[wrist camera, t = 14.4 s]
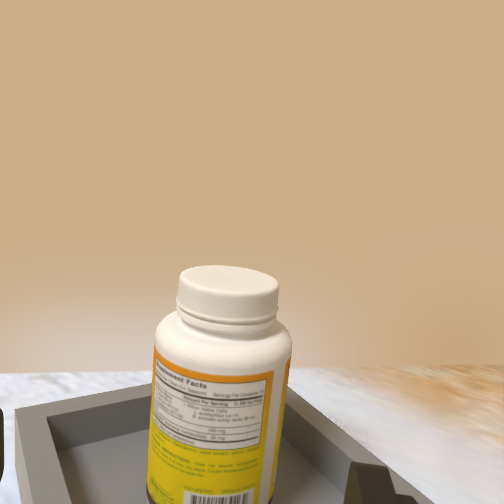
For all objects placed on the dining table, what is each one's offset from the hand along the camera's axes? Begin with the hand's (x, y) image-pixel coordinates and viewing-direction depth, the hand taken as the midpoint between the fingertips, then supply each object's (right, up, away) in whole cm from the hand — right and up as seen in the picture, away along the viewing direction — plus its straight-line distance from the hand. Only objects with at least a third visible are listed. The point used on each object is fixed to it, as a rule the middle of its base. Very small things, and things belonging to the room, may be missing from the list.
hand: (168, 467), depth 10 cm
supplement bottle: (0, -6, +10) cm, 12 cm away
